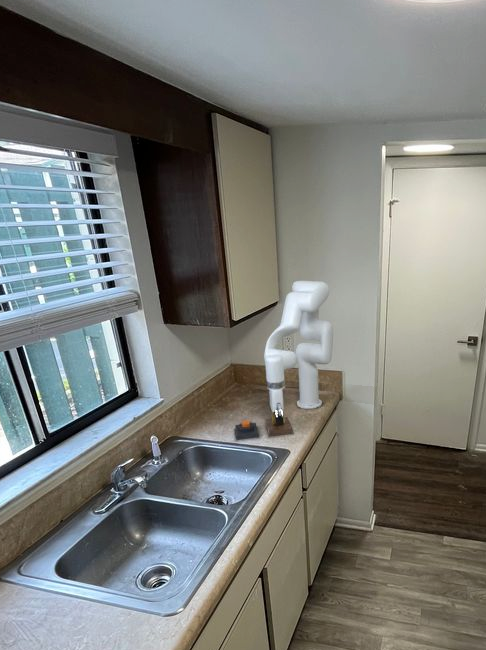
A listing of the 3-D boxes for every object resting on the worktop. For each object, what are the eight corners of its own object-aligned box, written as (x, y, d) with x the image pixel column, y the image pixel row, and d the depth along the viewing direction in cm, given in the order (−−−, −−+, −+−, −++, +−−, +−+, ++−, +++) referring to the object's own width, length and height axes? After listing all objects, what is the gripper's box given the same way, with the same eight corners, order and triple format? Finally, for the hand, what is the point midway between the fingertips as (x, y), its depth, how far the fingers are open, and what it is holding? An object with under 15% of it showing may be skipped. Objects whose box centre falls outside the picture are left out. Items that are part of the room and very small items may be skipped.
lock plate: (266, 425, 197) (265, 418, 195) (288, 422, 199) (287, 416, 198) (269, 436, 186) (268, 430, 185) (292, 434, 189) (292, 427, 187)
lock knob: (272, 424, 190) (271, 413, 188) (272, 423, 192) (271, 412, 189) (285, 423, 191) (284, 412, 189) (284, 421, 193) (283, 411, 191)
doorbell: (235, 429, 193) (234, 421, 191) (256, 426, 195) (255, 418, 194) (237, 440, 183) (236, 431, 182) (258, 437, 186) (257, 429, 184)
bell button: (241, 424, 189) (241, 421, 188) (249, 423, 190) (249, 420, 189) (242, 428, 186) (241, 424, 185) (250, 427, 187) (250, 423, 186)
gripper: (264, 378, 191) (267, 414, 198) (269, 392, 176) (272, 430, 182) (281, 376, 193) (283, 412, 200) (287, 390, 177) (290, 428, 184)
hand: (278, 420), depth 191 cm, fingers open, 9 cm apart
